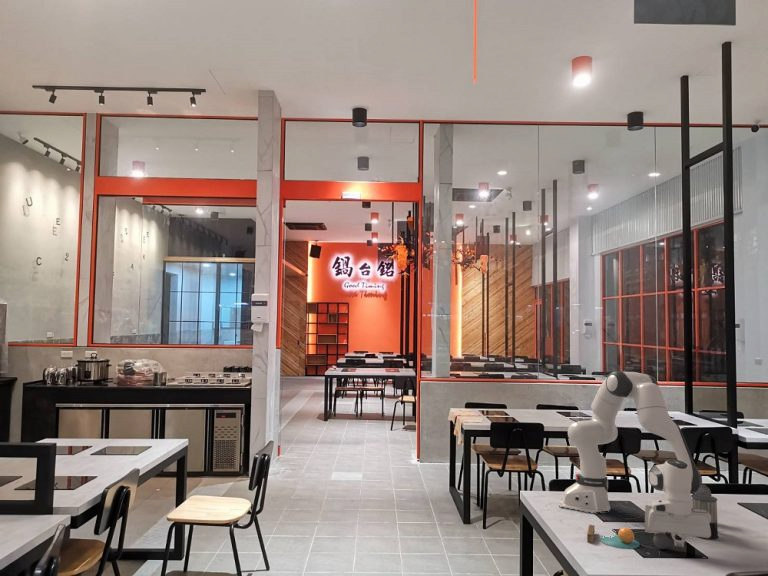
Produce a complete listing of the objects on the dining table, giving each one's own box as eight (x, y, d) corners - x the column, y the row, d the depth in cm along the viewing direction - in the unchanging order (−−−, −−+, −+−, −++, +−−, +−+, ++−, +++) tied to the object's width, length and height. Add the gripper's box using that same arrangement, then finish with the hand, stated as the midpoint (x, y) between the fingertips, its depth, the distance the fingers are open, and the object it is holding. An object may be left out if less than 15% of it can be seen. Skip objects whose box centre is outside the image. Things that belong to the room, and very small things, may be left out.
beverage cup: (715, 525, 233) (713, 476, 235) (695, 524, 235) (694, 474, 237) (708, 520, 240) (707, 472, 242) (690, 518, 242) (688, 470, 244)
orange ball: (637, 538, 207) (626, 548, 208) (637, 534, 212) (626, 543, 213) (625, 526, 209) (614, 536, 210) (625, 522, 214) (615, 531, 215)
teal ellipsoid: (598, 544, 208) (598, 544, 208) (600, 533, 221) (600, 532, 221) (640, 551, 202) (640, 550, 202) (639, 538, 215) (639, 538, 215)
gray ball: (674, 544, 202) (664, 555, 203) (672, 536, 207) (662, 547, 208) (660, 534, 203) (651, 545, 204) (658, 527, 208) (649, 537, 209)
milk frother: (721, 541, 214) (719, 501, 216) (674, 535, 220) (673, 496, 221) (714, 530, 228) (712, 492, 229) (670, 524, 233) (669, 488, 235)
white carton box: (663, 535, 220) (663, 509, 220) (645, 532, 224) (644, 506, 224) (665, 533, 222) (665, 507, 223) (647, 529, 227) (646, 504, 227)
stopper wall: (587, 542, 210) (587, 534, 211) (589, 532, 221) (589, 524, 222) (593, 543, 210) (592, 534, 210) (594, 533, 221) (594, 525, 221)
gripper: (709, 508, 204) (710, 548, 203) (647, 500, 212) (648, 539, 211) (712, 513, 198) (713, 553, 197) (648, 505, 206) (648, 544, 205)
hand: (679, 546), depth 204 cm, fingers closed
